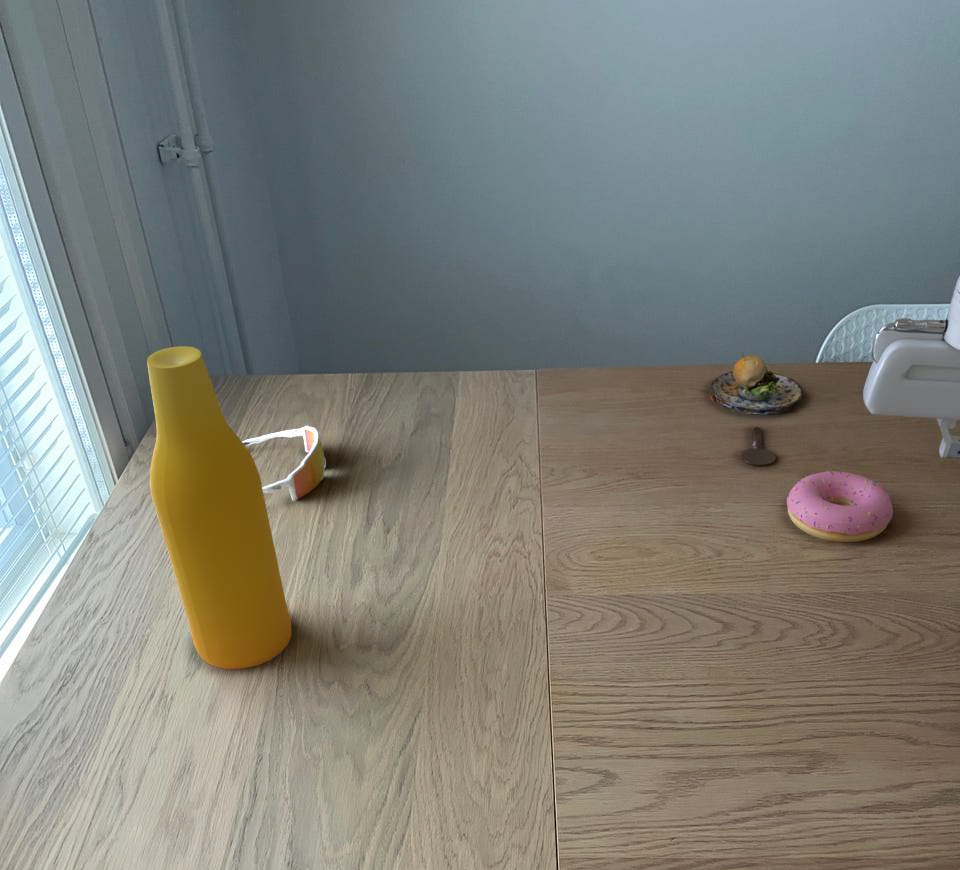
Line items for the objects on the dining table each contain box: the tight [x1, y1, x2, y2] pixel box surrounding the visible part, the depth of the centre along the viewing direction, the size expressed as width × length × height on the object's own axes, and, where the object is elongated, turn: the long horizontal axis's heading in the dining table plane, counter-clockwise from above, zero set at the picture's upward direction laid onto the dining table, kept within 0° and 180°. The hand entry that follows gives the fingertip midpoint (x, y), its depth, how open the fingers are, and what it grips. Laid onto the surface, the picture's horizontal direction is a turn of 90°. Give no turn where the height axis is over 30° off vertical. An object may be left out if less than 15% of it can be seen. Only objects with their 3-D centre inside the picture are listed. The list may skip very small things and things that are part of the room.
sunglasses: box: [242, 425, 327, 502], centre depth 118 cm, size 14×15×5 cm
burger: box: [709, 348, 804, 416], centre depth 128 cm, size 12×12×8 cm
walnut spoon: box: [740, 426, 777, 468], centre depth 119 cm, size 4×10×1 cm, turn 169°
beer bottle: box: [146, 345, 292, 670], centre depth 85 cm, size 9×9×29 cm
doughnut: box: [786, 469, 894, 543], centre depth 105 cm, size 11×11×4 cm
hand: (954, 456), depth 100 cm, fingers closed
